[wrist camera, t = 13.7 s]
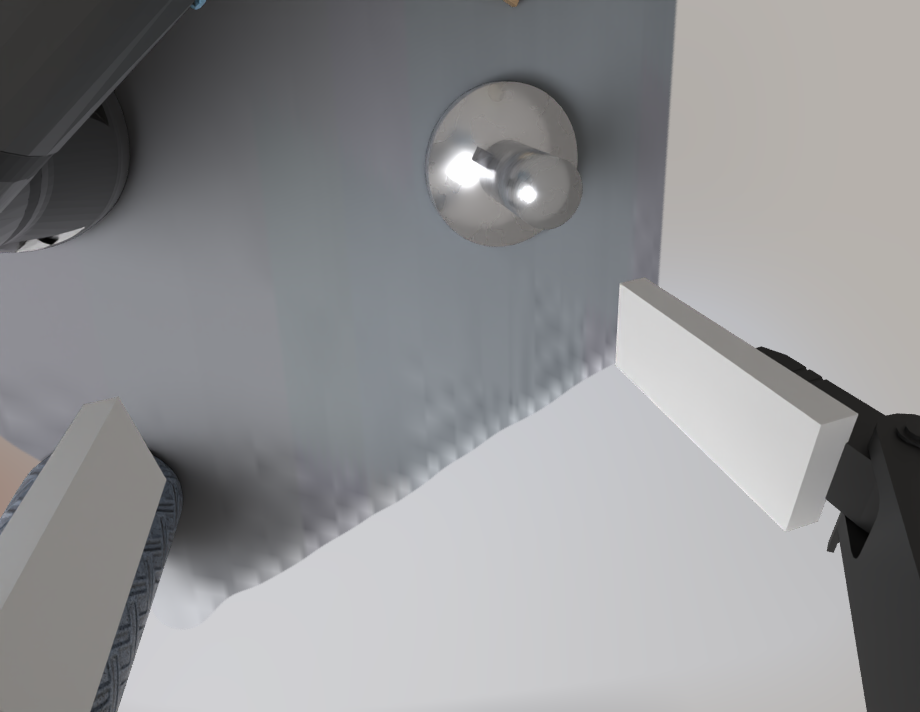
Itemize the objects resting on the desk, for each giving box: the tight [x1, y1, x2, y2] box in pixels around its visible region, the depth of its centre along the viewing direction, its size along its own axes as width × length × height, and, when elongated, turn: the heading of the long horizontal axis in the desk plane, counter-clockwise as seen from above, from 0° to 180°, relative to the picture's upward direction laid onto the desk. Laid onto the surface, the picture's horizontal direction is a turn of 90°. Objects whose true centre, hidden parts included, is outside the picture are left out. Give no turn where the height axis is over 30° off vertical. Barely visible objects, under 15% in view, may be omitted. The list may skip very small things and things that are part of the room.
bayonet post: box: [425, 81, 582, 247], centre depth 36 cm, size 12×12×10 cm
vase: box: [0, 455, 183, 712], centre depth 34 cm, size 12×12×28 cm
